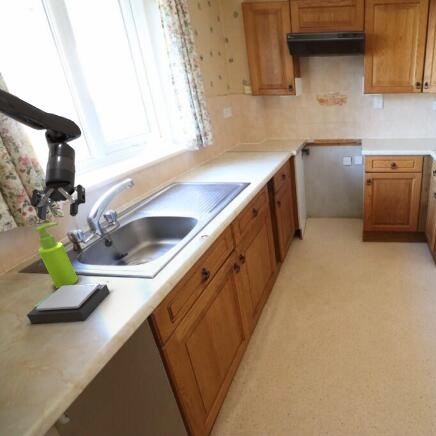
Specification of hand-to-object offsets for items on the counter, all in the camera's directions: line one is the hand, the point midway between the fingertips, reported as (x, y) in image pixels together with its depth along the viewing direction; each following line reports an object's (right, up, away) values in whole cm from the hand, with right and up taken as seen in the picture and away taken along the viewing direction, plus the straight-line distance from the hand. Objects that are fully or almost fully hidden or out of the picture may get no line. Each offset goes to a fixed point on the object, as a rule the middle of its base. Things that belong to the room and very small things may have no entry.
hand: (57, 217), depth 103 cm
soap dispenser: (+3, -21, +1) cm, 21 cm away
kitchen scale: (+14, -26, -11) cm, 31 cm away
